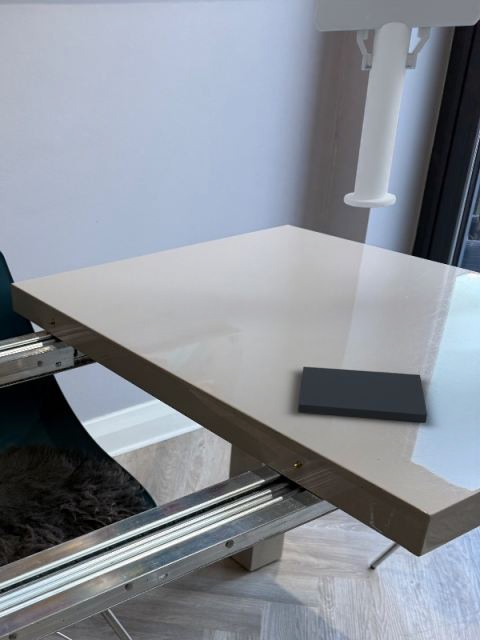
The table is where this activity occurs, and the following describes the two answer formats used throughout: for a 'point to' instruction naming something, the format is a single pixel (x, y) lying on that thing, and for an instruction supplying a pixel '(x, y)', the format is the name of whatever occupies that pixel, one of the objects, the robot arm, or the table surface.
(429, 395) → the table surface
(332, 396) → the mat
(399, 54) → the candle
